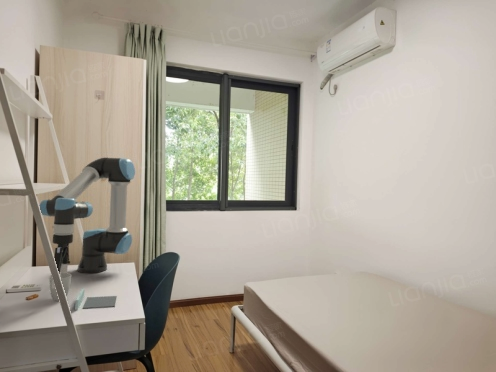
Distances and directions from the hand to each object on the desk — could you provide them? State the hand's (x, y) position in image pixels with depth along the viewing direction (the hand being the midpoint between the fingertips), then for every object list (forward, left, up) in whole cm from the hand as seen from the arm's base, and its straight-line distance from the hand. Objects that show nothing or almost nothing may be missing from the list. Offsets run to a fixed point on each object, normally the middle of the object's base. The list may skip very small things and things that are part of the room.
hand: (59, 283), depth 137 cm
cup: (0, 0, -7) cm, 7 cm away
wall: (+7, +9, -7) cm, 13 cm away
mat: (+7, +17, -7) cm, 20 cm away
